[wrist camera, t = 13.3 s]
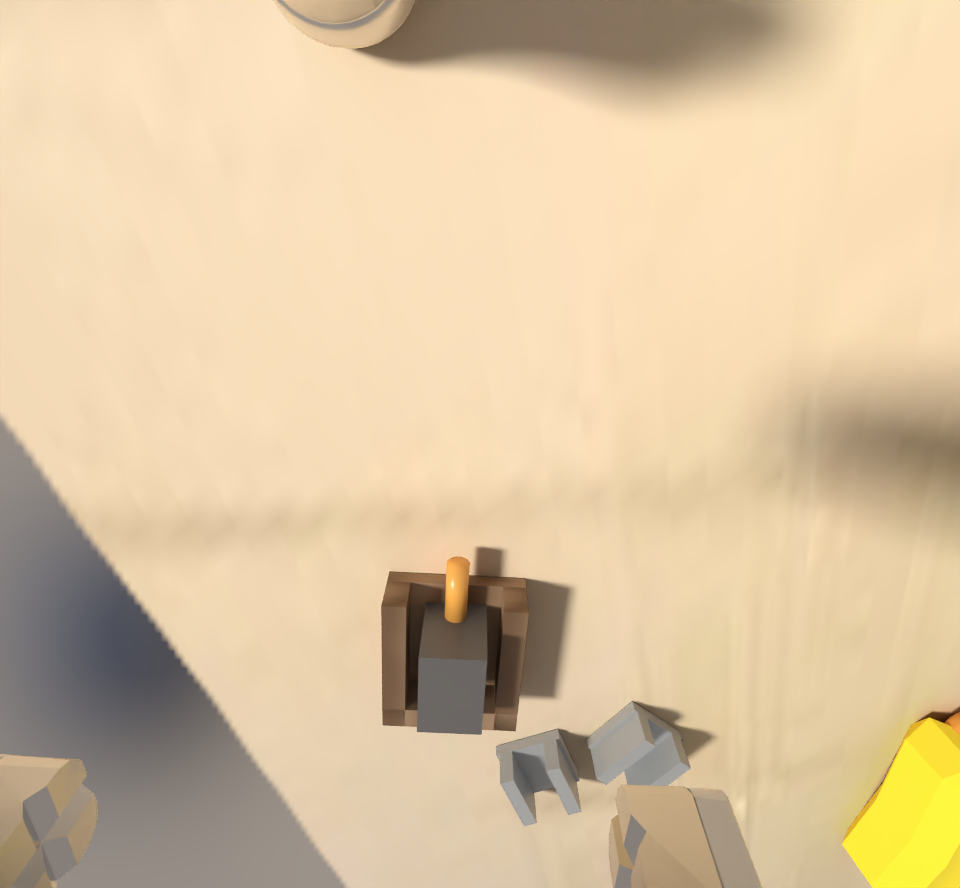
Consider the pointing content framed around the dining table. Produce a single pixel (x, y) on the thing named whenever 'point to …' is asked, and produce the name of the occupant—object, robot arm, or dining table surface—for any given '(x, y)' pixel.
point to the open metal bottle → (346, 20)
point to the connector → (453, 659)
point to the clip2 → (538, 773)
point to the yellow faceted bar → (914, 814)
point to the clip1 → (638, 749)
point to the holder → (404, 639)
